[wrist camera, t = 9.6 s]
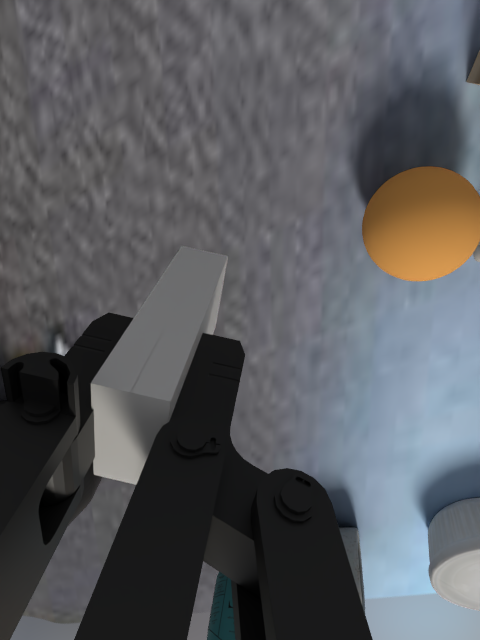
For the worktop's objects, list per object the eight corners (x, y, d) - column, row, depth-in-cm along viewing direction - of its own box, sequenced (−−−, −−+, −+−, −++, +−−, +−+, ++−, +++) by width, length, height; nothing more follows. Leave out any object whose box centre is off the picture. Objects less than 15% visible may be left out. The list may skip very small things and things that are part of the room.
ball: (474, 293, 23) (395, 247, 27) (532, 188, 20) (433, 153, 24) (404, 310, 20) (327, 255, 24) (459, 190, 17) (359, 150, 21)
